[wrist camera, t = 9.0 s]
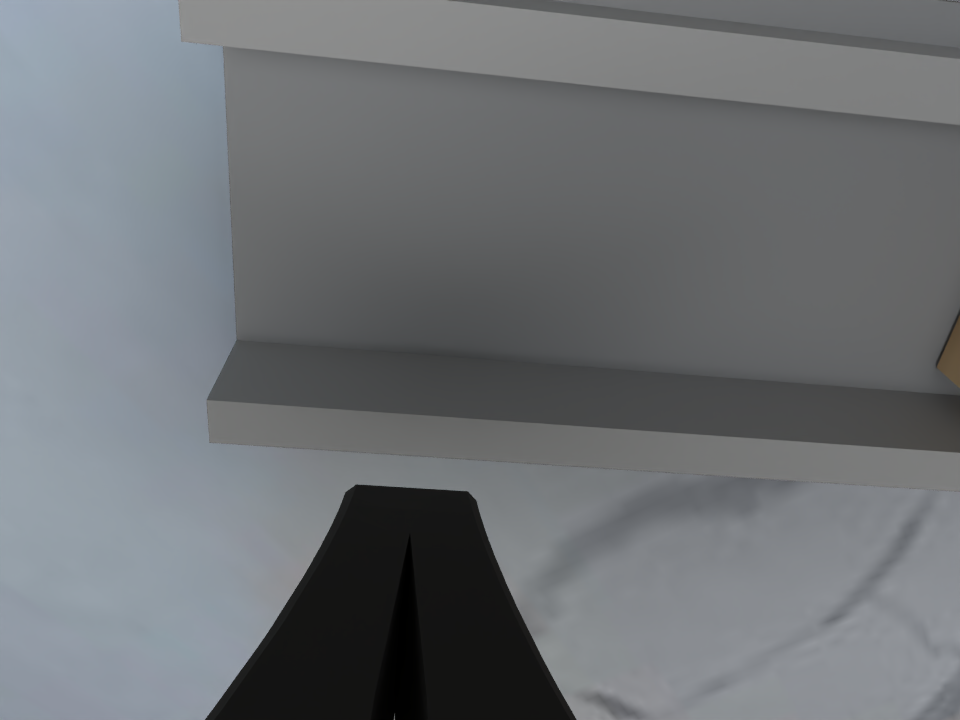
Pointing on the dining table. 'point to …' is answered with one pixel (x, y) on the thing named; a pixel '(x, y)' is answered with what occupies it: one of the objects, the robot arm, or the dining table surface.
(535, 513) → the dining table surface
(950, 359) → the keeper
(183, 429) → the dining table surface
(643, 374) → the channel
